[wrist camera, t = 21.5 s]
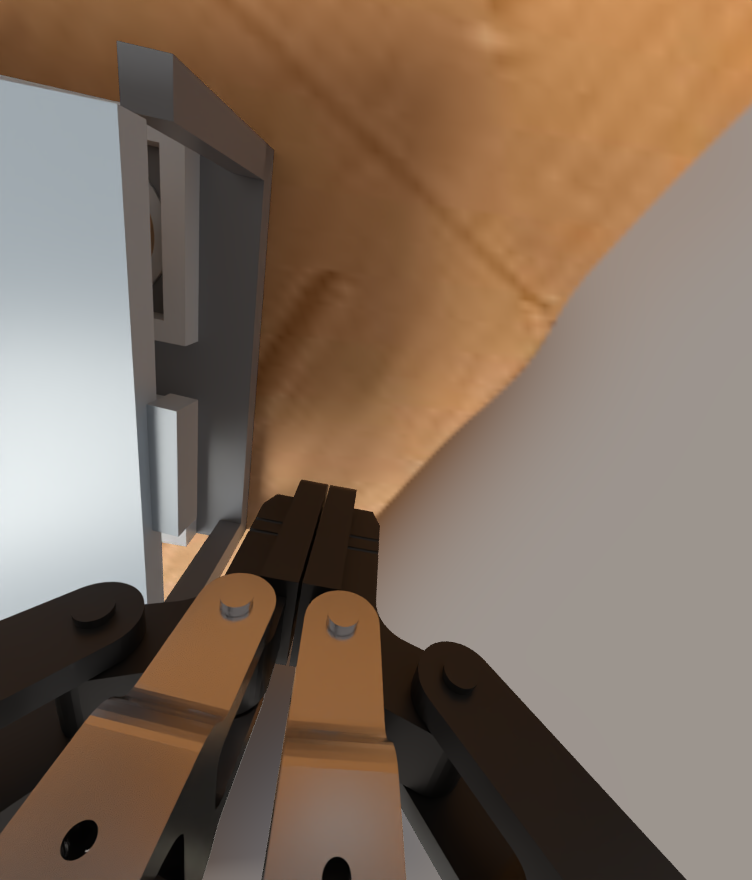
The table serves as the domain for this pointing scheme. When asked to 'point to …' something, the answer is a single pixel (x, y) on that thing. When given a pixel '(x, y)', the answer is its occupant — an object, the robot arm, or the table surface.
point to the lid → (82, 358)
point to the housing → (203, 281)
